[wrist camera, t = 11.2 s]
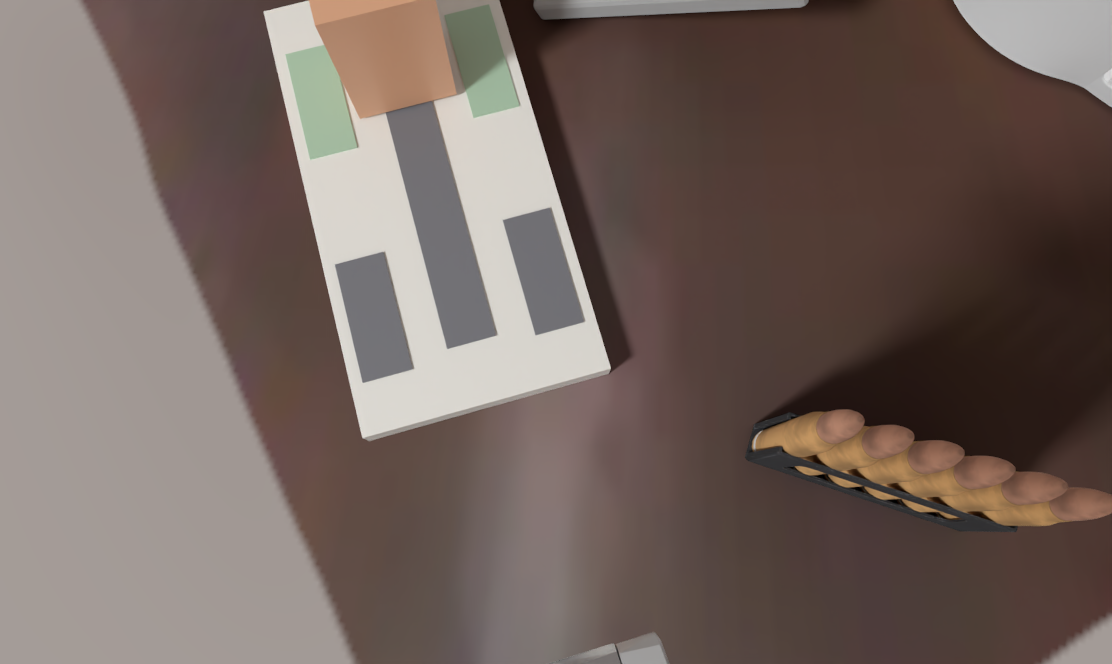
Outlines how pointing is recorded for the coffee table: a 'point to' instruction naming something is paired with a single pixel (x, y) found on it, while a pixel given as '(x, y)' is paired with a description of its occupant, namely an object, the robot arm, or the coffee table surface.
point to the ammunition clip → (918, 474)
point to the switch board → (438, 230)
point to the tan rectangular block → (386, 51)
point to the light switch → (650, 7)
